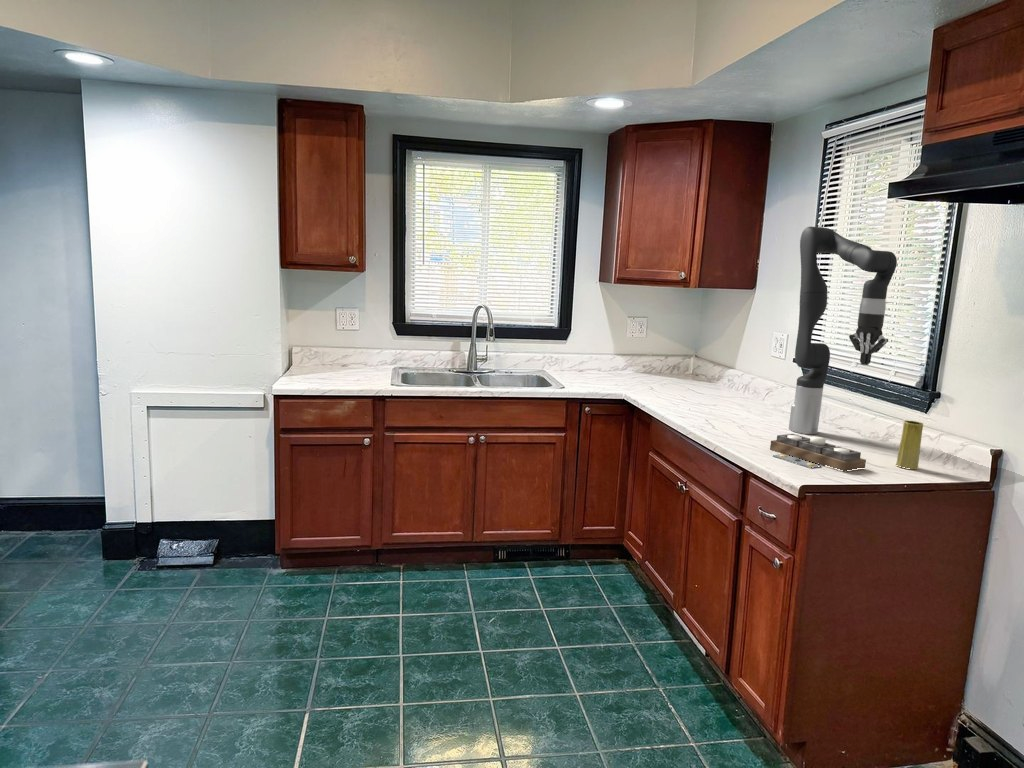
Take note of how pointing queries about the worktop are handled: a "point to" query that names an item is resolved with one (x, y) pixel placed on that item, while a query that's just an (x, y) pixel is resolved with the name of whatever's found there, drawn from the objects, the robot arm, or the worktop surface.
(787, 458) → the pattern card
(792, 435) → the button left
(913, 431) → the vase
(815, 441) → the button middle
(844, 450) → the button right
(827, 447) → the button board
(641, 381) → the worktop surface
